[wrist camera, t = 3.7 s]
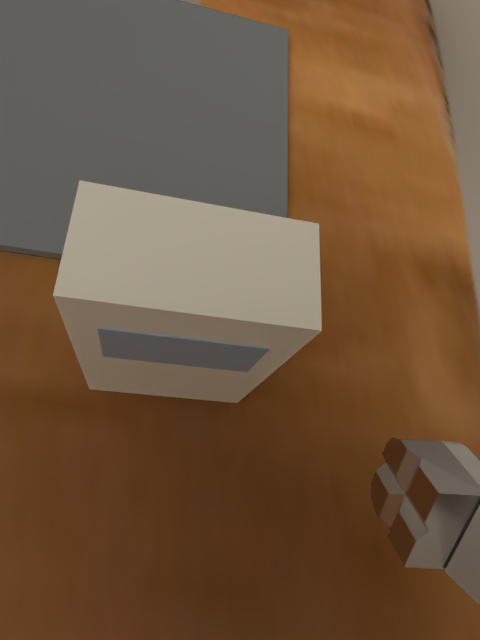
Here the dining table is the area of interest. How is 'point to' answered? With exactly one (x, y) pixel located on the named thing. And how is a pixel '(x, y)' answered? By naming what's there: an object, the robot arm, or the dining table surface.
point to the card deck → (184, 293)
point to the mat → (136, 110)
